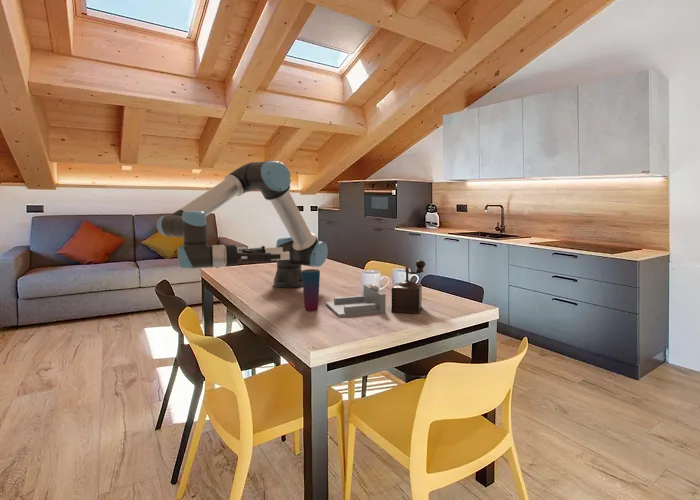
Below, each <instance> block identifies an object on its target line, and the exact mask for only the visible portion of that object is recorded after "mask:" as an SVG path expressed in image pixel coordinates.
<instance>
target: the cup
mask: <svg viewBox="0 0 700 500" xmlns="http://www.w3.org/2000/svg"><path fill="white" fill-rule="evenodd" d="M320 276H321V270H320V269H316V268H310V269H309V268H308V269H307V268H306V269H302V279H303V286H302V289H303V304H304V311H305V312H316V311H318V310H319V299H320V298H319V296H320V295H319V294H320V280H321V277H320Z"/></svg>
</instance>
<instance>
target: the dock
mask: <svg viewBox="0 0 700 500" xmlns="http://www.w3.org/2000/svg"><path fill="white" fill-rule="evenodd" d="M386 296H387V295H386V293H384V292H383V291H381V290H380V288H379V286H377V285H376V284H373V283H370V284H368V283H367V284H363V295H361V294H360V295H351V296H335V297H333V301H325V305H326V307H327V308H329V310H331V311H332V312H333V314H335V315H336V316H337V317H338V318H346V317H355V316H365V315H367V316H368V315H375V314H385V313H386Z"/></svg>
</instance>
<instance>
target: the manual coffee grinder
mask: <svg viewBox="0 0 700 500" xmlns="http://www.w3.org/2000/svg"><path fill="white" fill-rule="evenodd" d="M414 264H415V266H416V271H409V270H410V268H409V267H408V266H406V267H405V280H403V281H401V282H396V283H394V285H393V286H392V287H391V313H394V314H395V313H396V314H407V315H419V314H420V313H421V312H422V311H423V306H422V305H423V304H422V299H423V298H422V297H423V296H422V295H423V292H422V291H423V284H422V283H417V281H415V282H414V281H413V280H410V279H409V275H417V274H421V273H424V268H425V266H426V262H425V261H423V260H416V261H415V263H414Z"/></svg>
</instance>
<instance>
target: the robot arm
mask: <svg viewBox="0 0 700 500" xmlns="http://www.w3.org/2000/svg"><path fill="white" fill-rule="evenodd" d="M291 176H292V175H291V172H290V170H289V168H288V167H287V166H286V165H285V163H283V162H281V161H276V160H268V161H255V162H254V161H253V162H252V161H251V162H248V163H246V164H243V165H241V166H239V167H238V168H236V169H234V170H233V171H230V173H227V175H225V176H224V180H223V181H221V182H220V183H217V184H215V186H213V187H211V188H210V189H209V190H207V191H206V192H204V193H202V194H200V195H199V196H198V197H196V198H195V199H194V200H191V201H190V202H188V203H187V204H186V205H184V206H182V207H181V208H179V209H178V210H176V211H174V212H173V213H171V214H165V215H162V216H159V218H158V219H157V221H156V230H157V231H158V232H159V234H161V235H162V236H165V237H169V238H182V239H183V245H182V246H178V247H177V264H178V266H179V268H183V269H199V268H200V269H201V268H202V269H203V268H213V267H215V268H216V269H219V268H220V267H225V266H227V267H236V266H238V262H239V261H238V260H240V261H241V262H267V263H269V264H270V263H272V261H276V272H275V274H274V278H273V286H274V287H275V288H284V289H285V288H286V289H288V288H289V289H291V288H293V289H294V288H299V287H303V279H302V270H303V268H302V266H306V267H312V268H315V267H316V268H317V267H322V266H323V265H324V263H326V260H327V258H328V251H329V249H328V245H327V243H326V242H324V241H322V240H319V239H318V237H317V235H316V234H315V233H313V232H311V231H310V229H309V227H308V225H307V223H306V220H304V217H303V215H302V214H301V211H300V210H299V207H298V206H297V204H296V203H295V200H294V198H293V197H292V195H291V192H290V191H291V190H290V189H291V182H292V179H291ZM254 191H255V192H261V194H262V196H263V198H264V199H265V200H266V201H270V203H271V204H272V205H273V207H274V209H275V211H276V213H277V215H278V216H279V219H280V220H281V222H282V223H283V225H284V227H285V229H286V231H287V233H288V234H289V236H290V237H282V238H278V239H277V240H276V246H275V247H265V245H262V246H260V247H252V248H238V245H237V244H226V245H224V244H213V245H208V238H207V236H208V235H207V229H208V228H207V226H208V225H207V219H206V218H207V216H208V215H210V214H213V212H215V211H216V210H218V209H219V208H220V207H221V206H223V205H225V204H226V203H228V202H229V201H230V200H233V198H235V197H240V196H242V195H244V194H245V193H249V192H254Z"/></svg>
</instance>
